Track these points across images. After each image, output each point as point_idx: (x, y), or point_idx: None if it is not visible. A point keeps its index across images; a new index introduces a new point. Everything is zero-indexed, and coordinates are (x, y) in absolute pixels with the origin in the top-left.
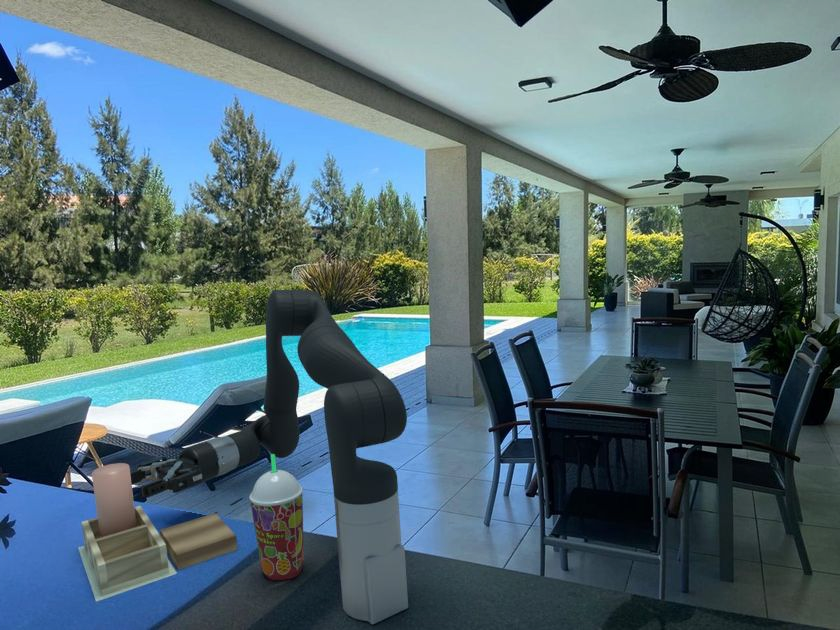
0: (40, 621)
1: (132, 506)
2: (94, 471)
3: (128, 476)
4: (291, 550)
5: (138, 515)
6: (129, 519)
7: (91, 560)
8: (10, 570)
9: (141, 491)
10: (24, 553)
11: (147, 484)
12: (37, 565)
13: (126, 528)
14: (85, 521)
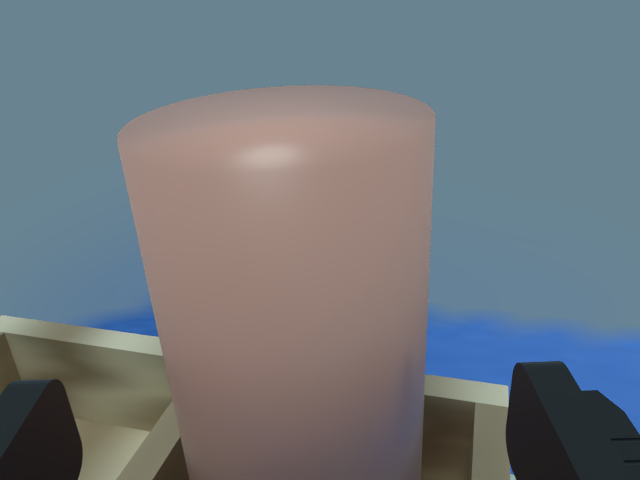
0: (130, 313)
1: (196, 466)
2: (354, 89)
3: (143, 232)
4: None
5: None
6: None
7: None
8: (512, 326)
9: (71, 411)
10: (636, 369)
11: (6, 409)
12: (485, 370)
13: None
14: (495, 397)
